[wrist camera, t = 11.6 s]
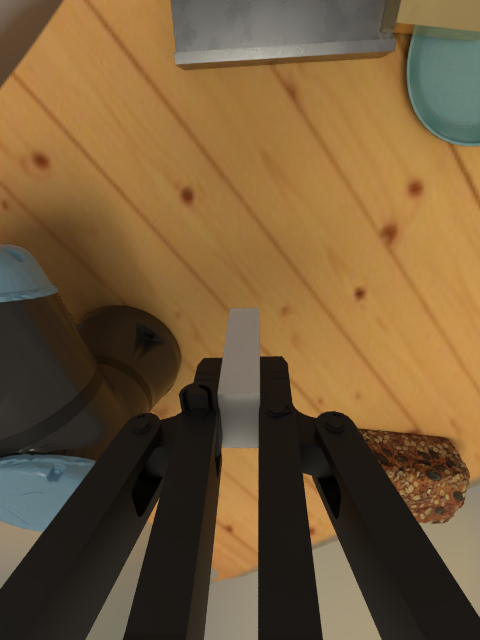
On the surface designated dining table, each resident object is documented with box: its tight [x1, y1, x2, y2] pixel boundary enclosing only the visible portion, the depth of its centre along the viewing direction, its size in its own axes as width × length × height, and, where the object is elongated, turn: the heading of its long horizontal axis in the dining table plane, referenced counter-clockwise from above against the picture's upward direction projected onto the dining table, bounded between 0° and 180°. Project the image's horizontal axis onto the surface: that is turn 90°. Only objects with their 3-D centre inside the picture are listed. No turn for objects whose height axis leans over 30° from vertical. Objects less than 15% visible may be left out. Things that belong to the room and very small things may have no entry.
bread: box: [358, 429, 470, 524], centre depth 53 cm, size 19×11×10 cm, turn 84°
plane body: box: [171, 0, 396, 70], centre depth 29 cm, size 18×8×4 cm, turn 93°
